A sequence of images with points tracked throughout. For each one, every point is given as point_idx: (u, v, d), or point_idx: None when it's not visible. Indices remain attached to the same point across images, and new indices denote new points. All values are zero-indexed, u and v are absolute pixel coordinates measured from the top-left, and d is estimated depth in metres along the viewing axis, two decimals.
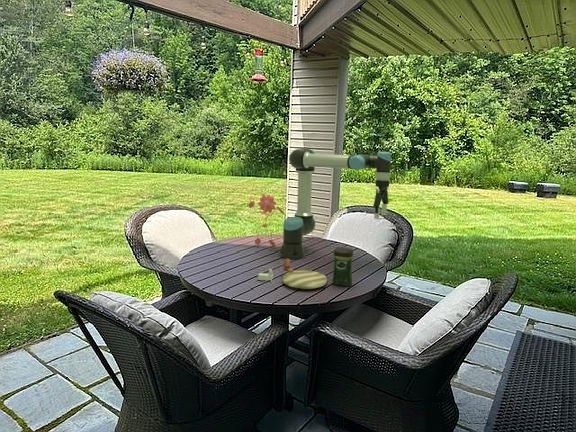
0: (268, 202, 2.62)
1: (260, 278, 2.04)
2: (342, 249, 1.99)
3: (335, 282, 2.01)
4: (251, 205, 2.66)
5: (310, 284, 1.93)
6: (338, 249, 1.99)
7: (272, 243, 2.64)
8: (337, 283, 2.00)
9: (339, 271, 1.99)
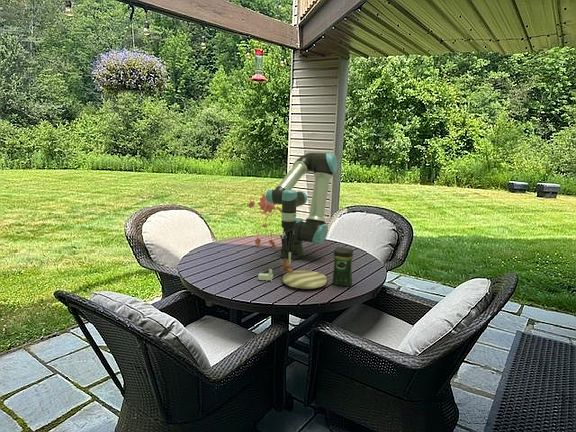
0: None
1: (260, 278, 2.04)
2: (342, 249, 1.99)
3: (335, 282, 2.01)
4: (251, 205, 2.66)
5: (310, 284, 1.93)
6: (338, 249, 1.99)
7: (272, 243, 2.64)
8: (337, 283, 2.00)
9: (339, 271, 1.99)
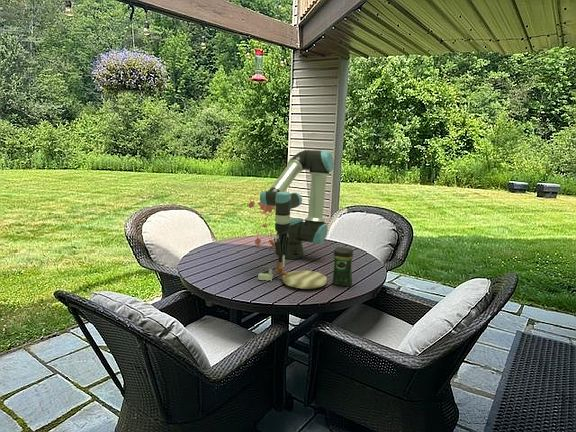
0: None
1: (260, 278, 2.04)
2: (342, 249, 1.99)
3: (335, 282, 2.01)
4: (251, 205, 2.66)
5: (317, 283, 1.95)
6: (338, 249, 1.99)
7: (272, 243, 2.64)
8: (337, 283, 2.00)
9: (339, 271, 1.99)
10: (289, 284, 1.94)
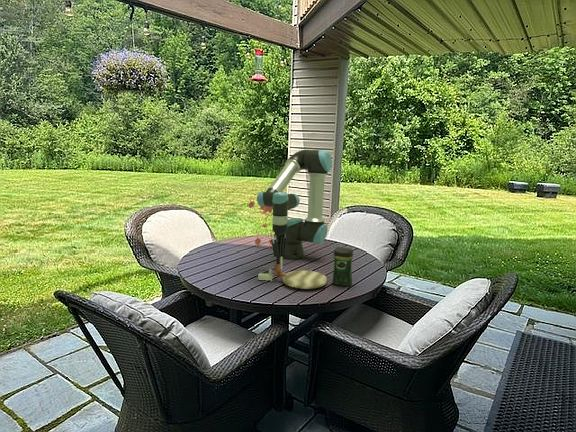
0: None
1: (260, 278, 2.04)
2: (342, 249, 1.99)
3: (335, 282, 2.01)
4: (251, 205, 2.66)
5: (320, 282, 1.96)
6: (338, 249, 1.99)
7: None
8: (337, 283, 2.00)
9: (339, 271, 1.99)
10: (293, 285, 1.93)
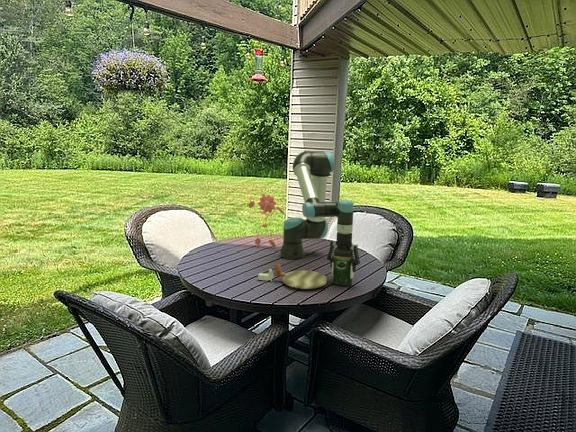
0: (268, 202, 2.62)
1: (260, 278, 2.04)
2: (342, 249, 1.99)
3: (335, 282, 2.01)
4: (251, 205, 2.66)
5: (320, 282, 1.96)
6: (338, 249, 1.99)
7: (272, 243, 2.64)
8: (337, 283, 2.00)
9: (339, 271, 1.99)
10: (293, 285, 1.93)
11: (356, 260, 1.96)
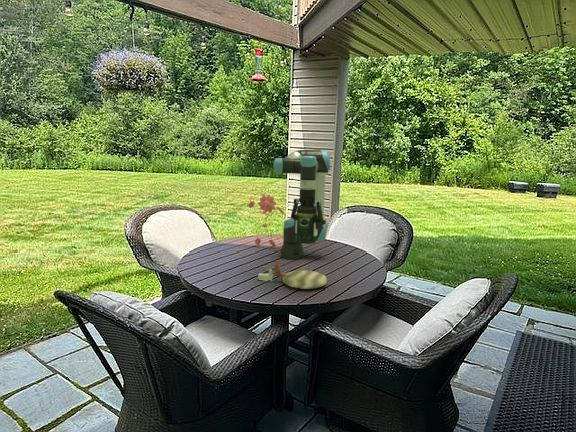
0: (268, 201, 2.62)
1: (260, 278, 2.04)
2: (305, 206, 1.94)
3: (298, 240, 1.96)
4: (251, 205, 2.66)
5: (320, 282, 1.96)
6: (301, 206, 1.94)
7: (272, 243, 2.64)
8: (300, 241, 1.95)
9: (302, 229, 1.94)
10: (293, 285, 1.93)
11: (319, 217, 1.91)
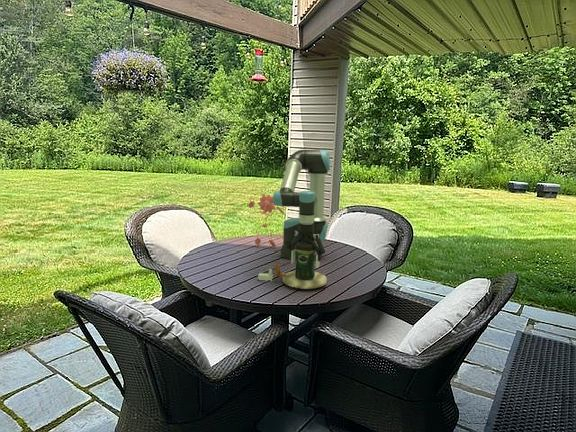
0: (268, 201, 2.62)
1: (260, 278, 2.04)
2: (304, 243, 1.97)
3: (297, 276, 1.99)
4: (251, 205, 2.66)
5: (320, 282, 1.96)
6: (300, 243, 1.97)
7: (272, 243, 2.64)
8: (299, 277, 1.99)
9: (301, 265, 1.97)
10: (293, 285, 1.93)
11: (320, 249, 1.94)
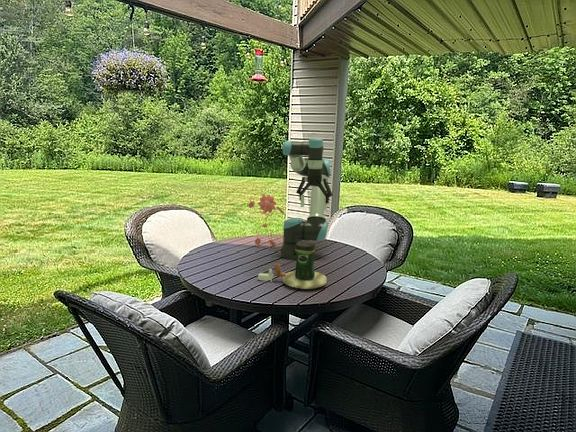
0: (268, 202, 2.62)
1: (260, 278, 2.04)
2: (304, 243, 1.97)
3: (297, 276, 1.99)
4: (251, 205, 2.66)
5: (320, 282, 1.96)
6: (300, 243, 1.98)
7: (272, 243, 2.64)
8: (299, 277, 1.99)
9: (301, 265, 1.97)
10: (293, 285, 1.93)
11: (328, 192, 2.09)
